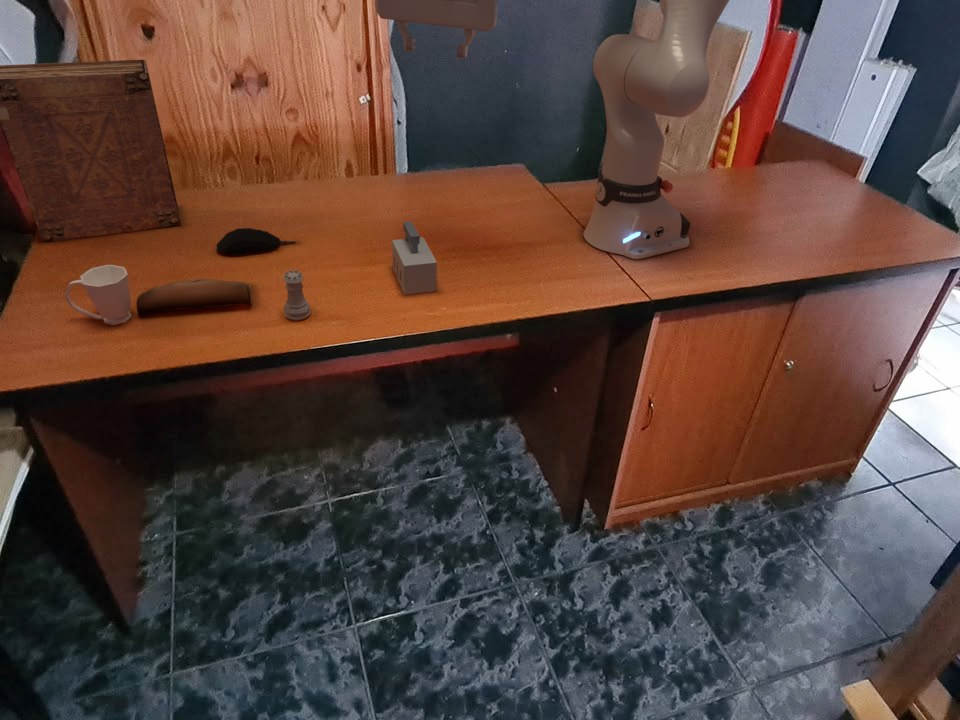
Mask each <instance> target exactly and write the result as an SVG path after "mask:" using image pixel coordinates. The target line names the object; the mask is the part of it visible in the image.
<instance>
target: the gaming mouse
mask: <svg viewBox="0 0 960 720" xmlns="http://www.w3.org/2000/svg"><path fill="white" fill-rule="evenodd" d="M296 243H297V242H296V241H295V240H293V241H292V240H281V239H280V238H279V237H278V236H276V235H274V234H272V233H270V232H269V231H268V230H262V229H257V228H251V227H243V228H236V229H234V230H231V231H229V232H226V233H225V234H224V236H222V238H221V239H220V240H219V241H218V242H217V243H216V250H217V251H219V252H220V253H222V254H224V255H227V256H237V257H239V256H247V255H254V254H261V253H268V252H273V251H275V250H276V249H278V248H279V247H280V245H282V244H283V245H287V244H296Z"/></svg>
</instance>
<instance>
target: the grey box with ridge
mask: <svg viewBox="0 0 960 720" xmlns="http://www.w3.org/2000/svg"><path fill="white" fill-rule="evenodd" d="M402 227H403V229H402V230H403V232H404V238H401V239H400V238H399V239H392V240H391V254H392V255H391V256H392V257H391V258H392V270H393V273H394V274H395V277H396V280H397V282H398V284H399V285H400V288H401V290H402V293H403V294H404V295H405V296H406V295H408V296H409V295H416V294H424V293H431V292H437V291H438V290H437V287H438V285H437V284H438V275H437V274H438V262H437V259H436V258H435V256H434V255H433V252H432V251H431V249H430V247H429V245H428V244H427V242H426V240H425V238H424V237H423V236H422V237H421V236H420V234H419V232H418V230H417V228H416V227H415V225H414V223H413V222H412V221H403V226H402Z"/></svg>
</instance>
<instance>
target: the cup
mask: <svg viewBox="0 0 960 720" xmlns="http://www.w3.org/2000/svg"><path fill="white" fill-rule="evenodd" d="M79 278H80V279H75V280H72V281H70V282H69V283H68V285H67V287H66V288H65V299H66V302H67V304H68V305H69V306H70V307H71V308H72V310H74V311H76V312H77V313H80V314H82V315H84V316H87V317H90V318H92V319H95V320H103V322H104V324H107V325H111V326H115V325H120V324H124V323H126V322H127V321H128V320H130V319H131V318H132V314H131V292H130V281H129V274H128V271H127V269H126V268H125V266H121V265H116V264H104V265H100V266H94V267H91V268H90V269H88V270H86V271H84V272H83V273H82V274H81V275H80V276H79ZM72 286H80V287H81V286H82V287H83V288H84V290H85V291H86V293H87V295H88V297H89V299H90V301H91V302H92V304H93V306H94V308H95V310H96V311H97V312H98V314H96V313H93V312H91V311H88V310H86V309H84V308H81V307H79V305H77V304H75V303H74V301H73V300H72V299H71V296H70V289H71V287H72Z"/></svg>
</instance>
